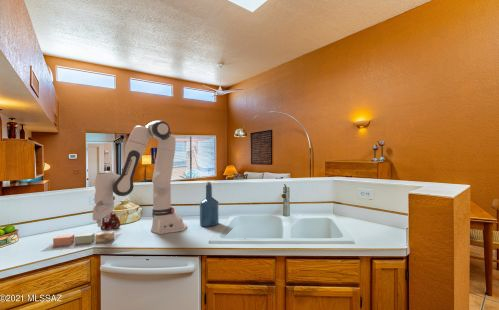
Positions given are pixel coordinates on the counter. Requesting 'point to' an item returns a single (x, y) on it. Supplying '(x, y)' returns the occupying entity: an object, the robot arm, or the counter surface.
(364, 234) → the counter surface
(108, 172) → the robot arm
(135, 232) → the counter surface
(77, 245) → the white flat board
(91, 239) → the sage brick
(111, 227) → the dark brown lump
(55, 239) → the terracotta brick
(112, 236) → the maple brick
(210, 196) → the wine bottle
